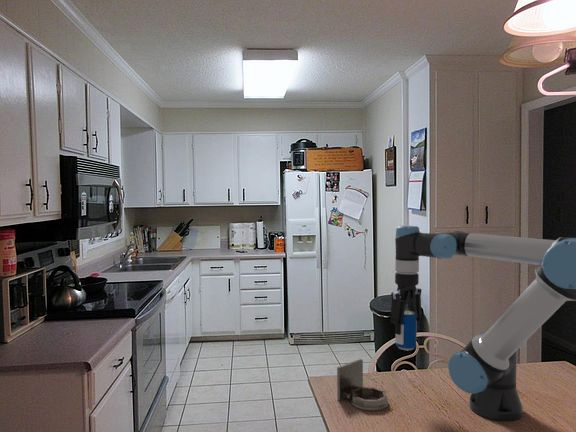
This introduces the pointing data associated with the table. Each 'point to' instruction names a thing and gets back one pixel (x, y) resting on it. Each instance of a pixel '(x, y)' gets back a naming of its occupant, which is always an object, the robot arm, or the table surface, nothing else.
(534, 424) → the table surface
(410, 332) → the beverage can
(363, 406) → the cup bracket
